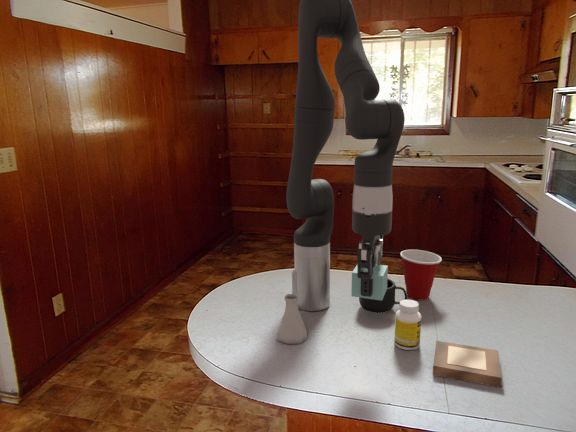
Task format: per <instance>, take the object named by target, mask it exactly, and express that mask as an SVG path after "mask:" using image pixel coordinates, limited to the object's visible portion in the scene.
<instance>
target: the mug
mask: <svg viewBox="0 0 576 432" xmlns="http://www.w3.org/2000/svg"><path fill="white" fill-rule="evenodd" d="M396 290H401V291H402V292H403V294H404V300H408V296H407V292H406V288H404V287H402V286H396V283H395V281H394V280H392V279H390V278H387V290H386V292H385V295H384V297H383V300H375V299H368V298H360V297H358V301H359V305H360V306H361V308H362V309H363V310H364V311H367V312H370V313H373V314H383V313H387V312H390V311H392V309H393V308H394V307H395V305H400V301H396Z"/></svg>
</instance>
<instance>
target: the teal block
mask: <svg viewBox="0 0 576 432" xmlns="http://www.w3.org/2000/svg"><path fill="white" fill-rule="evenodd" d="M388 271H389V266H388V265H386V264H380V265H378V264H377V266H376V267H375V268H374V274H373V275H374V277H373V292H372V296H371V297H367V296H362V295H361V278H358V276H357V265H356V266H355V267H354V268H353V270H352V272H351V297H354V298H359V297H360V298H368V299H375V300H383V297H384V295H385V292H386V290H387V278H388V274H389V272H388ZM364 272H368V269H367V268H364ZM388 279H389V278H388Z"/></svg>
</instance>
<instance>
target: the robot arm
mask: <svg viewBox="0 0 576 432" xmlns="http://www.w3.org/2000/svg"><path fill="white" fill-rule="evenodd" d="M297 19H298V21H297V24H298V27H297V29H298V30H297V32H298V34H297V35H298V37H297V38H298V39H297V41H298V43H297V45H298V46H297V47H298V50H297V51H298V54H297V55H298V59H297V60H298V63H297V64H298V66H297V67H298V68H297V69H298V71H297V80H296V83H297V84H296V93H295V107H294V121H293V122H294V123H293V124H294V125H293V126H294V128H293V143H292V151H291V153H292V154H291V161H290V168H289V172H288V173H289V175H288V180H287V185H286V186H287V187H286V200H285V201H286V206H287V210H288V212H289V215H290V217H292V218H294V219H297V220H301V219H302V220H303V219H306V221H305V222H304V223H303V224H302V225H301V226H299V227H298V228H297V229H296V230H295V231H294V233H293V250H294V251H293V253H294V254H293V256H294V257H293V258H294V259H293V260H294V269H293V270H292V271H291V288H292V290H291V294H296V295H298V300H297V306H298V309H300V310H303V311H308V312H318V311H322V310H325V309H327V308H328V307H330V305H331V301H330V300H331V235H332V233H333V228H334V215H335V214H334V213H335V212H334V211H335V195H334V192H333V187H332V186H331V184H330V183H329V181H327V180H325V179H323V178H314V179H312V178H313V173H314V172H313V171H314V167H315V165H316V161H317V159H318V157H319V155H320V154H321V153H322V150H323V148H324V147H325V145H326V144H327V142H328V140H329V138H330V137H331V134H332V132H333V128H334V123H335V122H334V121H335V120H334V119H335V114H336V113H335V111H336V97H335V95H334V92H333V88H332V86H331V85H330V83H329V82H330V81H328V78H327V77H326V75H325V73H324V70H323V68H322V65H321V62H320V58H319V52H318V51H319V50H318V38H321V39H323V38H324V39H336V40H338V41H339V42H340V45H341V46H340V49H339V51H338V53H337V55H336V57H335V60H334V76H335V78H336V81H337V84H338V86H339V89H340V91H341V93H342V96H343V101H344V103H343V104H344V111H345V112H344V116H345V120H344V121H345V128H346V131H347V133H348V134H349V135H350V136H351V137H353V138H354V139H355V140H359V141H360V140H361V141H363V140H376V142H375V144H374V146H373V148H371V149H370V150H367V151H364V152H361V153H359V154H357V155H356V156H355V158H354V170H353V171H354V172H353V173H354V174H353V183H354V184H353V190H352V191H353V192H352V206H351V209H352V213H351V217H352V218H351V230H352V231H353V232H354V233H355V234H358V235H361V236H362V239H361V241H359V243H358V248H357V250H356V259H357V263H356V266H357V276H358V278H361V295H362V296H367V297H371V296H372V292H373V277H374V275H373V274H374V268H375V267H376V266H377V264H378V265H382V264H381V263H382V262H381V261H382V259H383V244H384V236H386V235H388V234H390V233H391V232H392V227H393V226H392V225H393V223H392V222H393V199H394V198H393V197H394V195H393V165H394V160H395V156H396V154H397V153H396V152H397V150H398V146H399V143H400V140H401V136H402V134H403V130H404V128H405V127H404V126H405V121H406V120H405V112H404V109H403V107H402V105H401V104H400V102H398V101H397V100H395V99H376V98H377V97H378V95H379V94H380V88H381V87H380V83H379V79H378V78H377V76H376V75H377V74H376V73H375V71H374V70H373V67H372V65H371V63H370V61H369V59H368V57H367V55H366V51H365V48H364V45H363V42H362V37H361V32H360V26H359V23H358V21H357V20H358V19H357V16H356V12H355V8H354V5H353V3H352V1H351V0H300V2H299V8H298V17H297ZM364 268H367V269H368V272H364Z"/></svg>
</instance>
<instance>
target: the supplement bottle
mask: <svg viewBox="0 0 576 432" xmlns="http://www.w3.org/2000/svg"><path fill="white" fill-rule="evenodd" d="M399 302H400V304H398V305H399V309H398V310H397V311H396V313H395V318H394V319H395V320H394V321H395V324H394V340H393V341H394V345H395V346H396V347H397V348H399V349H402V350H404V351H414V350H417V349H419V347H420V344H421V330H422V329H421V328H422V314H421V313H420V312H419V308H420V307H419V306H420V304H419V302H418V301H417V300H414V299H407V300H405V299H402V300H400V301H399Z"/></svg>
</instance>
